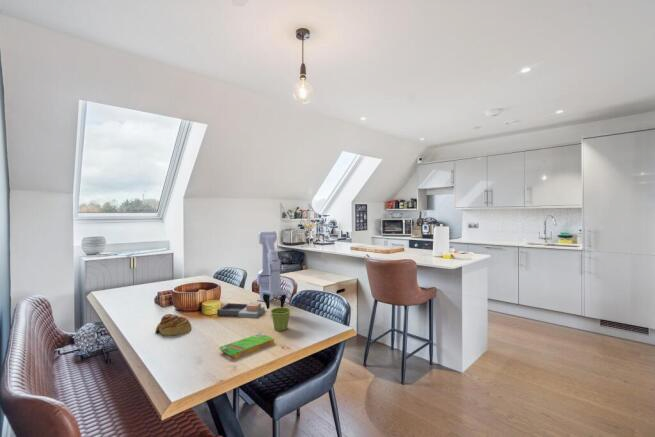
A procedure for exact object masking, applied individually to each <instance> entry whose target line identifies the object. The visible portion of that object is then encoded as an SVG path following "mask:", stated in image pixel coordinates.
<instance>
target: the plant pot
mask: <svg viewBox="0 0 655 437" xmlns="http://www.w3.org/2000/svg"><path fill="white" fill-rule="evenodd" d="M291 311H292V310H291V308H289V307H284V306H283V307H281V306H280V307H275V308H271V309H270V313H271V317H272V323H273V330H275V331H277V332H283V331H284V330H287V329H288V324H289V317H290V313H291Z"/></svg>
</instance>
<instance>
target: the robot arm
mask: <svg viewBox="0 0 655 437" xmlns="http://www.w3.org/2000/svg"><path fill="white" fill-rule="evenodd" d="M277 235H278V234H277V231H259V232H258V243H259V244H260V245H261V247H262V249H261V251H262V252H261V254H262V255H261V261H262V262H261V269H260V270H259V271H257V273H256V284H257V285H258V286H259V298H257V299H256V301H257V302H259V301H260V302H264V303H265V306H266V307H265V308H266V309H267V310H269V309H270V302H271V300H273V299H274V298H275V296H280V297H279V301H280V307H284V306H285V302H286V299H287V297H289V291H285V290H281V271H282V266H283V265H282V261H281V259H280V258H279V254H278V251H277V250H276V248H275V243H276V242H277V238H278V236H277Z"/></svg>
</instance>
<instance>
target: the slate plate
mask: <svg viewBox="0 0 655 437" xmlns="http://www.w3.org/2000/svg"><path fill="white" fill-rule="evenodd" d="M265 308H266V307H265V306H261V308H260V309H259V310H257V311H248V310H246V307H245V308H244V309H243V310H241V311H240V312H239V313H238V317H239V318H258V317H259V316H260V315H261V314H262V313H264V312H265V311H266V310H265Z"/></svg>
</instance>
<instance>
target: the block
mask: <svg viewBox="0 0 655 437" xmlns="http://www.w3.org/2000/svg"><path fill="white" fill-rule="evenodd" d="M261 307H262V303H261V302H250V303H247V306H246V310H248V311H257V310H259V309H260V308H261Z"/></svg>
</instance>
